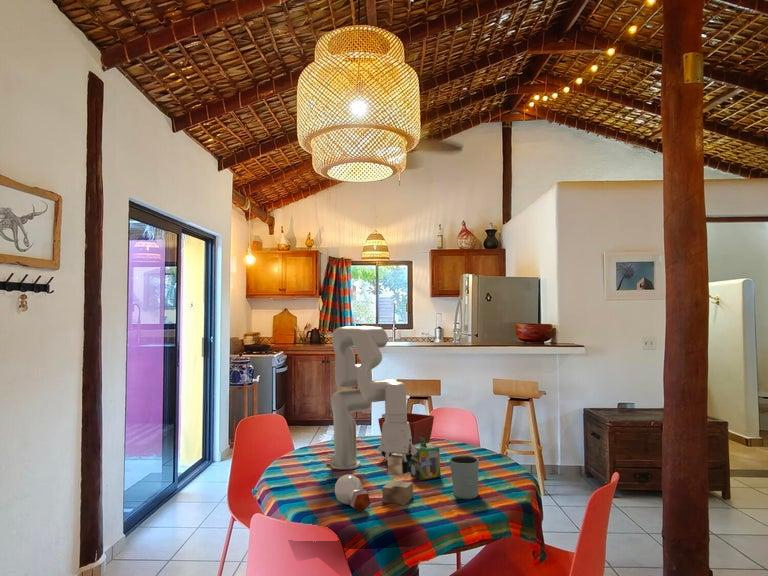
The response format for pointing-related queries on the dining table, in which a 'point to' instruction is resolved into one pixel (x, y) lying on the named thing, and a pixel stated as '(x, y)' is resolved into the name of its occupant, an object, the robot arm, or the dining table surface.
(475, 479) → the grey embossed cup
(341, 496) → the potion bottle
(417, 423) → the plant pot
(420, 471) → the chalk box
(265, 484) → the dining table surface
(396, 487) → the tan square block
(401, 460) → the beech block
